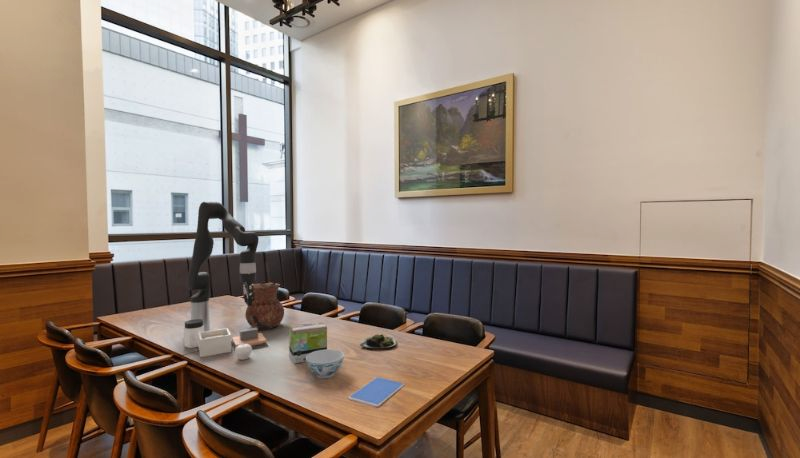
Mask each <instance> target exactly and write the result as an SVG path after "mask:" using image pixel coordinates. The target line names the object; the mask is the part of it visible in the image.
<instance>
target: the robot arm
mask: <svg viewBox="0 0 800 458" xmlns="http://www.w3.org/2000/svg"><path fill="white" fill-rule="evenodd" d="M197 213H198V216H197V217H198V218H197V225H196V235H195V239H194V243H193V250H192V256H191V260H190V265H189V269H188V273H187V275H186V283H185V285H186V288H187V289H188V290H189V291H196V290H198V291H197V293H195V294H193V295H192V296H190V298H189V301H190V302H189V303H190V320H194V319H201V320H203V325H204V332H205V331H211V329H210V327H211V326H210V295H211V294H210V293H211V277H210V274H209V273H208V272H206V271H200V269H201V268H202V266H203V265H204V264H205V262H206V261H207V260H208V259H209V258H210V256H211V255H212V253H213V248H214V245H215V242H214V238H213V236H212V234H211V232H210V230H209V220H214V219H215V220H217V219H219V220H220V221H222V223H223V225H222V226H223V228H224V230H225V231H226V232H227V233H228V234H229V235H230V236H232V238H233V240H234V241H235V243H236V245H238V246H240V247H246V249H245V250H242V251H240V254H239V282H241V283H243V284H242V287H243V291H242V292H243V293H244V295H243V296H244V297H245V300H244V303H245V304H246V302H247V304H246V305H247V307H248V306H252V299H253V296H254V295H253V285H252V284H253V283H252V282H255V281H257V266H256V252H257V250H258V249H257V248H258V245H259V235H258V234H257V232H255V231H246V228H245V226H243V225H242V224H241V223H240V222H238V220H236V219H235V218H234V217H233V216H232V214H231V213H230V212H229V211H228V210H227V208H226V207H225V206H224V204H222V203H221V202H220V201H202V202H201V203H200V204H199V207H198V211H197ZM244 297H243V298H244Z"/></svg>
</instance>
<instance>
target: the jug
mask: <svg viewBox="0 0 800 458" xmlns="http://www.w3.org/2000/svg"><path fill="white" fill-rule="evenodd" d="M252 285H253V295H254V296H253V298H252V306H248V305H247V302H246V303H245V304H246V305H247V307H246V310H245V313H244V314H245V320H246V322H247V324H248V325H250V328H256V327H257V329H258V330H269V329H273V328H275V327H277V326H279V325H280V323H282V321H283V319H284V317H285V309H284V306H283V303H282V302H281V301H280V300H279V299H278V298H277V295H278V294H277V293H278V290H279V288H280V286H281V284H280V283H277V282H276V283H274V282H266V283H252ZM242 295H243V300H244V301H245V297H244V293H243V294H242Z"/></svg>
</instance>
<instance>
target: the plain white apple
mask: <svg viewBox="0 0 800 458" xmlns="http://www.w3.org/2000/svg"><path fill="white" fill-rule="evenodd" d="M241 342H242V341H241ZM252 351H253V349H252V347H251V346H250V345H249V344H244V343H243V342H242V345H239V346H237V347H236V348H235V350H234V353H235V356H236V358H237V360H241V361H243V360H247V359H249V358H250V357H251V354H252Z"/></svg>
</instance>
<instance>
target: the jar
mask: <svg viewBox="0 0 800 458" xmlns="http://www.w3.org/2000/svg"><path fill="white" fill-rule="evenodd" d="M198 332H204V325H203V320H201V319H194V320H191V319H189V320H186V321H184V327H183V347H185V348H189V349H191V348H197V347H198V348H199V338H198Z"/></svg>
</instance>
